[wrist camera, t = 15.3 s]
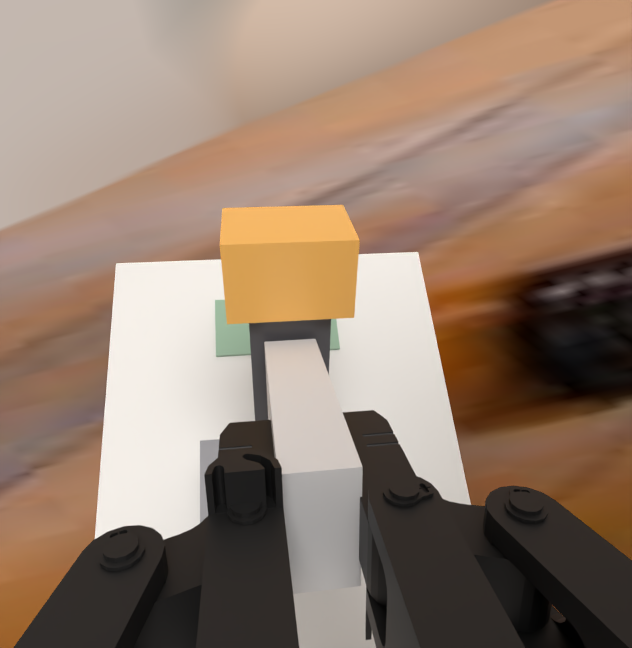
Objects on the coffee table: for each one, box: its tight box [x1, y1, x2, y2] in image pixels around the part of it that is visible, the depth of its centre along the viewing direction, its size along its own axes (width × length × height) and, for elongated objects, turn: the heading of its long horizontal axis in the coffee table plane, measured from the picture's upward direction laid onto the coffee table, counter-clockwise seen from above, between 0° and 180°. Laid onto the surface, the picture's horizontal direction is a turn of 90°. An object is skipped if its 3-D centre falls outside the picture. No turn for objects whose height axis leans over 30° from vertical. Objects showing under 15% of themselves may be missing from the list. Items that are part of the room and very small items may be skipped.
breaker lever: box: [220, 205, 360, 421], centre depth 18 cm, size 4×4×13 cm
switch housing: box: [95, 252, 471, 648], centre depth 23 cm, size 16×24×10 cm, turn 5°
